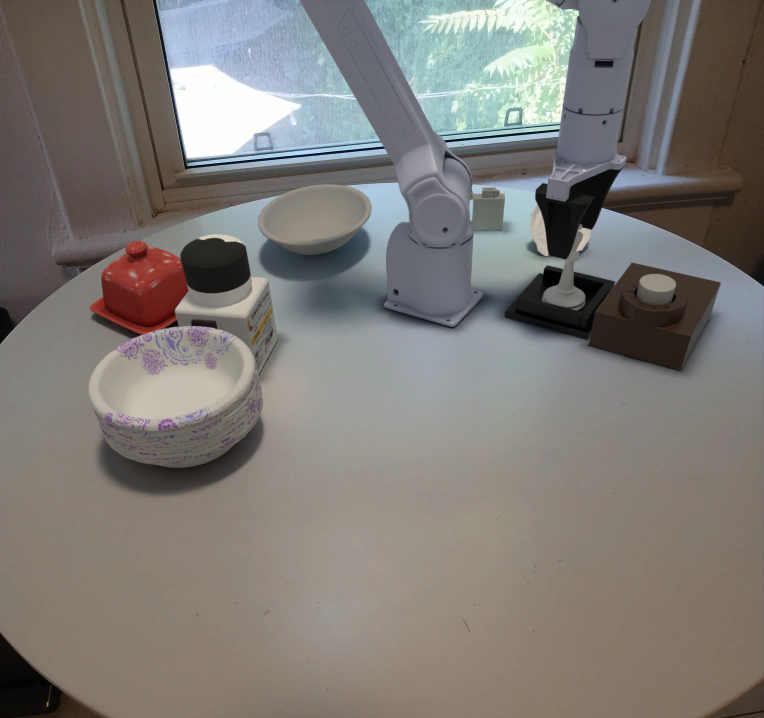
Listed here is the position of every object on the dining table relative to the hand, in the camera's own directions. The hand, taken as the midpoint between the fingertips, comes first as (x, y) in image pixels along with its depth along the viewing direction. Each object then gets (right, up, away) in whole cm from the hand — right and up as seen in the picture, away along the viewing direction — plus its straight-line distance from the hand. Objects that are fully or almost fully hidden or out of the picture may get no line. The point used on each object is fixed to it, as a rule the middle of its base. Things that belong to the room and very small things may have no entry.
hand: (571, 241), depth 80 cm
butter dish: (-48, -5, +9) cm, 49 cm away
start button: (+8, -7, -4) cm, 11 cm away
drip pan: (0, -6, +6) cm, 8 cm away
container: (-37, -12, +2) cm, 39 cm away
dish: (-29, +6, +18) cm, 35 cm away
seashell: (+3, +5, +16) cm, 17 cm away
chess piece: (0, -5, +5) cm, 8 cm away
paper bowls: (-40, -22, -8) cm, 46 cm away
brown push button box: (+9, -9, +2) cm, 13 cm away
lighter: (-8, +9, +21) cm, 24 cm away
